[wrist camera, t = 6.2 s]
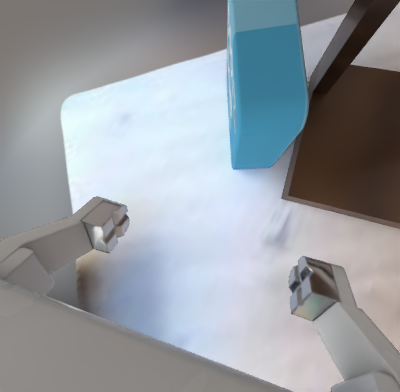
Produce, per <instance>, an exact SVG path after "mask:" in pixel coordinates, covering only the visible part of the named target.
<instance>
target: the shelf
mask: <svg viewBox="0 0 400 392" xmlns="http://www.w3.org/2000/svg"><path fill="white" fill-rule="evenodd" d="M399 1H400V0H355V1H354V3H353V5H352V6H351V8H350V10H349V11H348V13H347V15H346V17H345V18H344V20H343V22H342V23H341V25H340V27H339V29H338V30H337V32H336V34H335V35H334V37H333V39H332V41H331V42H330V44H329V46H328V47H327V49H326V51H325V53H324V54H323V56H322V58H321V59H320V61H319V63H318V65H317V66H316V68H315V70H314V72H313V73H312V75H311V77H310V81H309V86H308V94H309V110H308V116H307V120H306V123H305V126H304V127H303V129H302V130H301V132H300V133H299V134H298V135H297V137H296V140H295V144H294V148H293V152H292V156H291V161H290V165H289V169H288V173H287V177H286V181H285V185H284V190H283V194H282V199H285V200H289V201H293V202H297V203H301V204H305V205H309V206H312V207H316V208H320V209H324V210H328V211H332V212H336V213H340V214H344V215H348V216H352V217H356V218H360V219H364V220H368V221H372V222H376V223H380V224H384V225H388V226H392V227H396V228H400V72H397V71H390V70H383V69H376V68H369V67H362V66H355V65H350V64H351V63H352V61H353V60H354V59H355V57H356V56H357V55H358V54H359V52H360V51H361V50H362V49H363V47H364V46H365V45H366V43H367V42H368V41H369V40H370V38H371V37H372V36H373V35H374V33H375V32H376V31H377V29H378V28H379V27H380V26H381V24H382V23H383V22H384V21H385V19H386V18H387V17H388V15H389V14H390V13H391V12H392V10H393V9H394V8H395V7H396V5H397V4H398V3H399Z"/></svg>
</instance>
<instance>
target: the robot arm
mask: <svg viewBox="0 0 400 392" xmlns="http://www.w3.org/2000/svg"><path fill="white" fill-rule="evenodd" d="M127 211H128V209H127V206H126V205H124V204H121V203H118V202H115V201H111V200H108V199H105V198H101V197H98V196H96V197H93V198H92V199H91V200H90V201H89V202H88V203H86V204H85V205H84V206H83V207H82V208H81V209H79V210H78V211H77V212H76V213H75V214H74V215H73V216H71V217H70V218H69V217H65V218H62V219H59V220H56V221H54V222H51V223H48V224H45V225H42V226H39V227H36V228H33V229H30V230H27V231H24V232H21V233H18V234H15V235H12V236H10V237H7V238H4V239H2V240H1V241H0V392H293V391H290V390H288V389H285V388H282V387H280V386H277V385H275V384H272V383H270V382H267V381H264V380H262V379H259V378H257V377H254V376H251V375H249V374H246V373H244V372H241V371H239V370H236V369H233V368H231V367H228V366H226V365H223V364H220V363H218V362H215V361H213V360H210V359H207V358H205V357H202V356H200V355H197V354H195V353H192V352H189V351H187V350H184V349H182V348H179V347H176V346H174V345H171V344H169V343H166V342H163V341H161V340H158V339H156V338H153V337H151V336H148V335H145V334H143V333H140V332H138V331H135V330H132V329H130V328H127V327H125V326H122V325H119V324H117V323H114V322H112V321H109V320H107V319H104V318H101V317H99V316H96V315H94V314H91V313H88V312H86V311H83V310H81V309H78V308H75V307H73V306H70V305H68V304H65V303H63V302H60V301H57V300H55V299H52V298H50V297H47V296H45V295H46V294H47V293H48V292H49V291H50V290H51V289H52V287H53V286H54V285H55V281H54V280H53V278H52V277H51V276H50V274H51V273H53V272H54V271H56V270H58V269H60V268H61V267H63V266H65V265H67V264H68V263H70V262H72V261H74V260H75V259H77V258H79V257H81V256H83V255H84V254H86V253H88V252H90V251H91V250H93V249H96V250H100V251H103V252H106V253H110V252H111V251H112V249H113V248H114V247H115V245H116V244H117V243H118V238H119V237H121V236H123V235H124V234H125V232H126V231H127V229H128V226H129V217H128V216H127V214H126V212H127ZM289 288H290V290H291V291H292V293H293V294H292V296H291V297H290V306H291V314H293V315H296V316H299V317H302V318H304V319H307V320H310V321H313V322H312V323H313V325H314V327H315V328H316V330H317V332H318V334H319V336H320V337H321V339H322V341H323V343H324V345H325V346H326V348H327V350H328V352H329V354H330V355H331V357H332V359H333V361H334V363H335V364H336V366H337V368H338V370H339V372H340V373H341V375H342V377H343V379H344V382H341V383H339V384H336V385H334V386H332V387H331V392H400V353H399V351H398V350H397V349H396V348H395V347H394V346H393V345H392V343H391V342H390V341H389V340H388V339H387V338H386V337H385V335H384V334H383V333H382V332H381V331H380V330H379V328H378V327H377V326H376V325H375V324H374V323H373V322H372V320H371V319H370V318H369V317H368V316H367V315H366V314H365V312H364V311H363V310H362V309H360V308H357V305H356V302H355V299H354V296H353V293H352V290H351V287H350V284H349V281H348V278H347V275H346V272H345V270H344V268H343V267H341V266H337V265H334V264H330V263H327V262H323V261H320V260H316V259H313V258H309V257H305V256H302V257H300V259H299V260H298V265H297V266H294V267H293V268H292V270H291V272H290V276H289Z"/></svg>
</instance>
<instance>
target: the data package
mask: <svg viewBox="0 0 400 392" xmlns="http://www.w3.org/2000/svg"><path fill="white" fill-rule="evenodd" d="M227 28H228V29H227V98H228V114H229V130H230V146H231V162H232V168H233V169H234V170H237V169H252V168H267V167H272V166H273V165H274V163H275V162H276V161H277V160H278V159H279V157H280V156H281V155H282V154H283V152H284V151H285V150H286V149H287V148H288V146H289V145H290V144H291V143H292V141H293V140H294V139H295V138H296V137H297V135H298V134H299V133H300V132H301V130H302V129H303V127H304V126H305V123H306V120H307V116H308V110H309V94H308V86H307V78H306V70H305V62H304V54H303V46H302V38H301V30H300V23H299V14H298V6H297V0H228V26H227Z"/></svg>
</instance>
